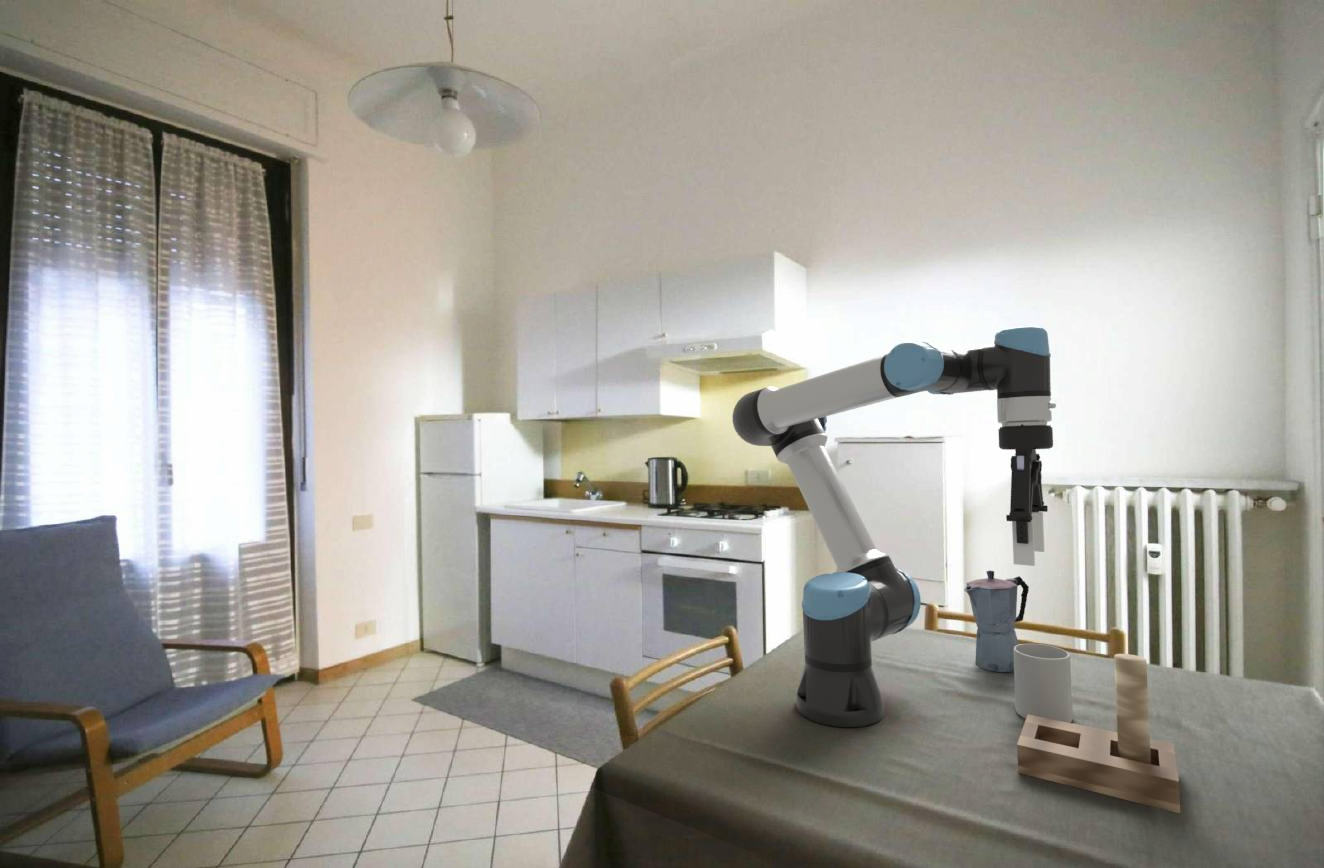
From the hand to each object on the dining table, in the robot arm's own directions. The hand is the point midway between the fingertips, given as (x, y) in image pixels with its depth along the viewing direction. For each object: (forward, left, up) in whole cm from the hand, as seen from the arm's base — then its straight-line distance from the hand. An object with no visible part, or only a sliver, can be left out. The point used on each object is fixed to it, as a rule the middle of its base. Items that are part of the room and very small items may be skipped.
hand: (1029, 557), depth 101 cm
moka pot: (-10, +33, -29) cm, 45 cm away
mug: (-1, +12, -29) cm, 31 cm away
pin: (+13, -7, -28) cm, 31 cm away
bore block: (+8, -7, -29) cm, 31 cm away
